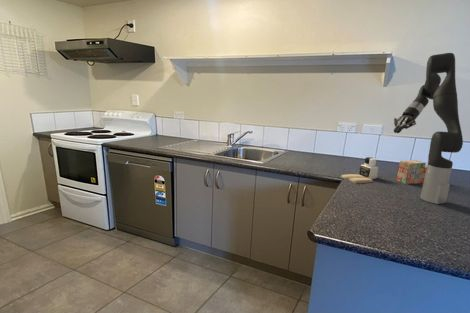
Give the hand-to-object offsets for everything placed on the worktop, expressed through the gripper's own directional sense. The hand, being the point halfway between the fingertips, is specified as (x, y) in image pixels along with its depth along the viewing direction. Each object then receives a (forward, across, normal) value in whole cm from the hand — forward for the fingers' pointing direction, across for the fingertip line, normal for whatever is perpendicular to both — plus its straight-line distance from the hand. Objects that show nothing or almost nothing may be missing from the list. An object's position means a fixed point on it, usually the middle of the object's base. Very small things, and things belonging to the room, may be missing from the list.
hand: (395, 132), depth 158 cm
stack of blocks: (+13, +11, +27) cm, 32 cm away
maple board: (+36, -3, +4) cm, 36 cm away
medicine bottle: (+28, -4, +11) cm, 31 cm away
